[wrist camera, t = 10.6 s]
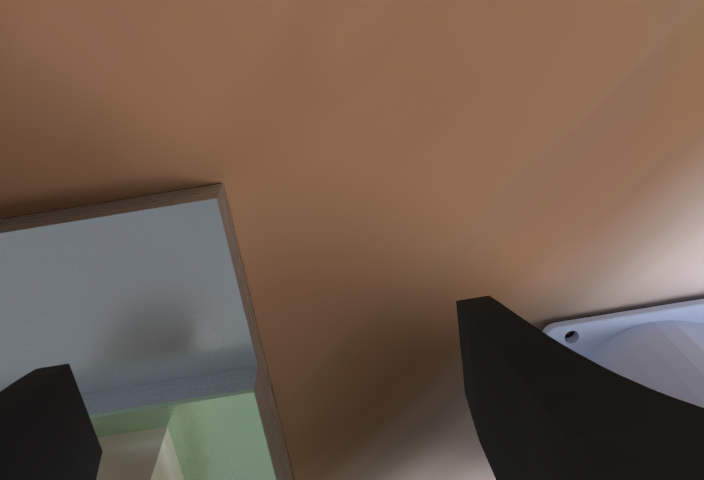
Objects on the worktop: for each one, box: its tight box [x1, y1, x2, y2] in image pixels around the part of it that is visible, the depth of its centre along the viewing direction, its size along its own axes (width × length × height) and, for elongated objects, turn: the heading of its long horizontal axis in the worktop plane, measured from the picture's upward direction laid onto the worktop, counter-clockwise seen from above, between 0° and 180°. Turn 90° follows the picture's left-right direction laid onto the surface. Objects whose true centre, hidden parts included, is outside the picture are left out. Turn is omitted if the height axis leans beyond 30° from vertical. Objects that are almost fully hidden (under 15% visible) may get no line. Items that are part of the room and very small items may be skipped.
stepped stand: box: [0, 183, 294, 480], centre depth 22 cm, size 10×18×4 cm, turn 8°
